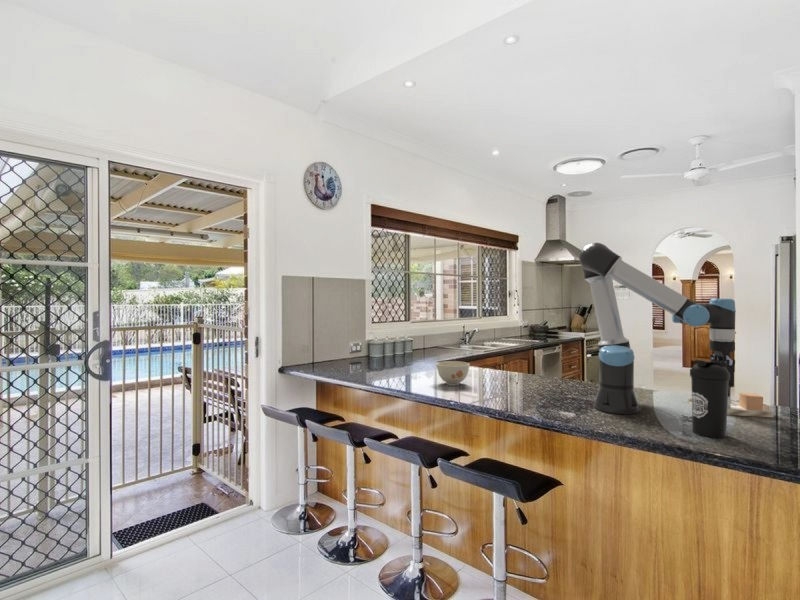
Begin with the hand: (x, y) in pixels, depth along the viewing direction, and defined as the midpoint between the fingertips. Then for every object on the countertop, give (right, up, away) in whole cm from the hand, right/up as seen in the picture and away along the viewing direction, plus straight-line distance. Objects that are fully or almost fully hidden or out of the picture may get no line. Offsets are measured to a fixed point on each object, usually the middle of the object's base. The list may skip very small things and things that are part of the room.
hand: (721, 402), depth 157 cm
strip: (+6, -3, -2) cm, 7 cm away
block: (+9, -1, -2) cm, 9 cm away
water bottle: (-22, -4, -24) cm, 33 cm away
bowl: (-93, -3, +49) cm, 105 cm away
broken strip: (+8, -3, +6) cm, 11 cm away
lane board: (+5, -3, +3) cm, 6 cm away
